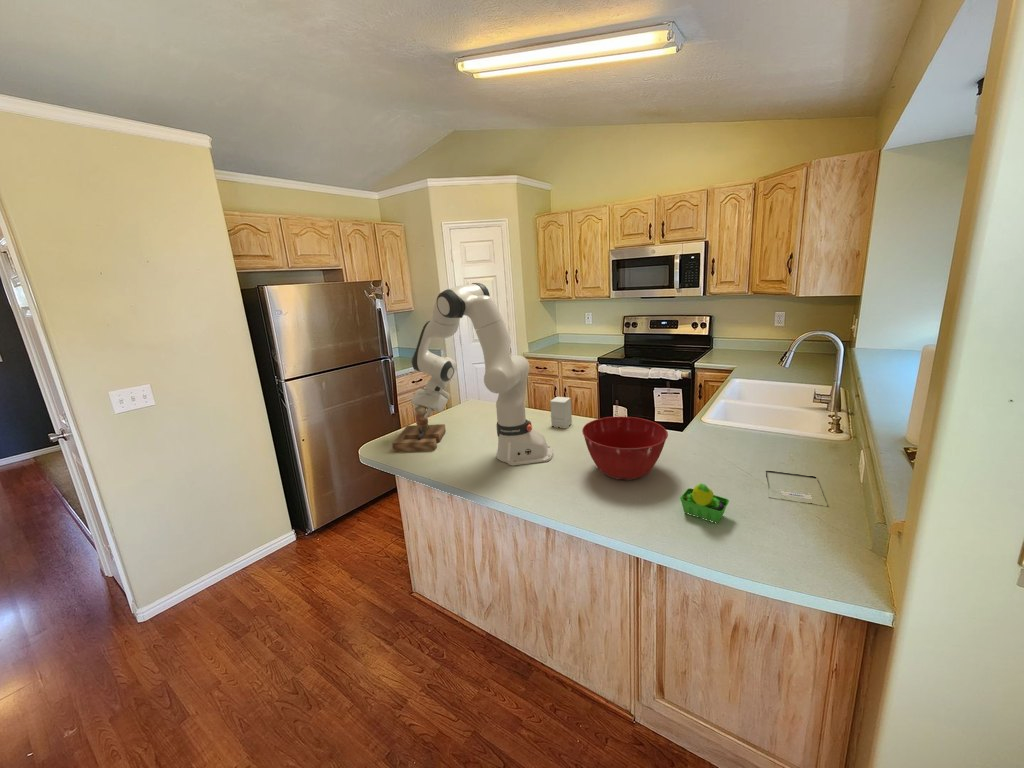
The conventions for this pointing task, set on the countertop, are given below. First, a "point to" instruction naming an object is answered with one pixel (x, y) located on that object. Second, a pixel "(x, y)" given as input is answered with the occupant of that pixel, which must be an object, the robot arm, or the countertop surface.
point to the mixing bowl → (624, 445)
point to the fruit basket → (703, 503)
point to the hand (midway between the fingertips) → (419, 416)
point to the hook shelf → (419, 444)
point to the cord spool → (421, 418)
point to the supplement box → (561, 412)
